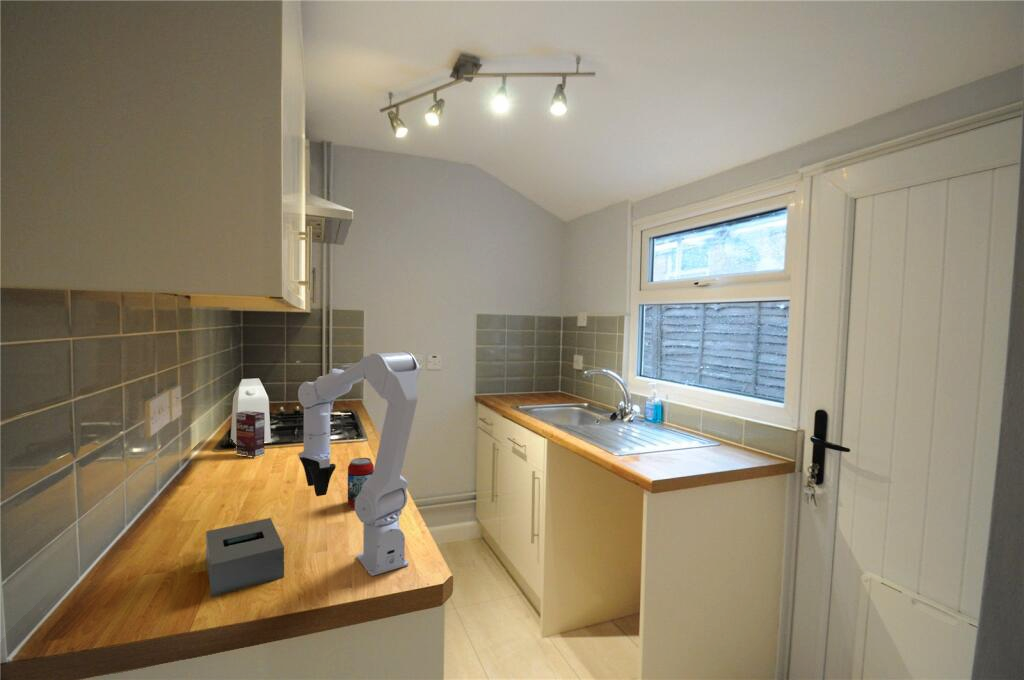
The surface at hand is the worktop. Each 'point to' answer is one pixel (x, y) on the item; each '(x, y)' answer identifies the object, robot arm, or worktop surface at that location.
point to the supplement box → (250, 433)
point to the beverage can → (358, 477)
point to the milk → (251, 404)
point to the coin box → (243, 556)
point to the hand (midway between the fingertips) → (316, 490)
